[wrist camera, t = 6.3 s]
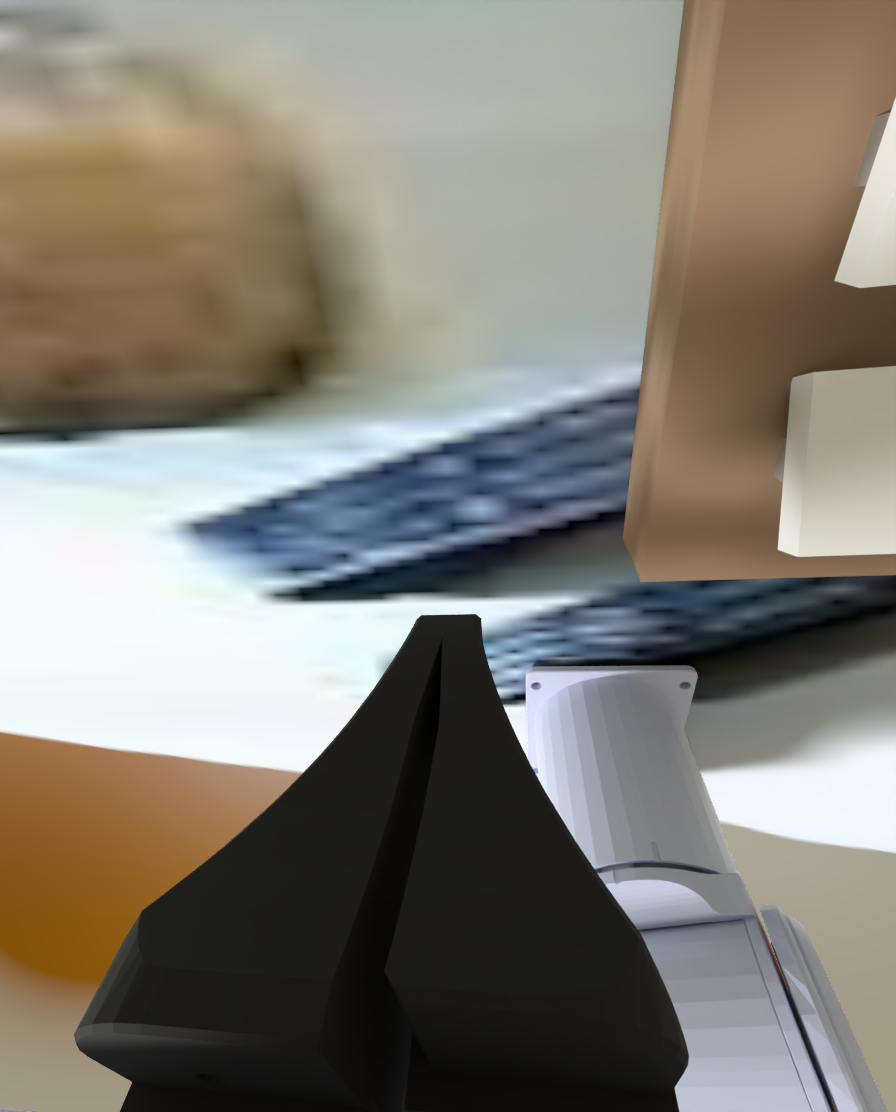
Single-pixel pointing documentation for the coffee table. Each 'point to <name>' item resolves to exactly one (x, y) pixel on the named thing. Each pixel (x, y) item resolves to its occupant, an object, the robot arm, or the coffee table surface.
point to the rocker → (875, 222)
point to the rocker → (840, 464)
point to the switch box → (755, 276)
